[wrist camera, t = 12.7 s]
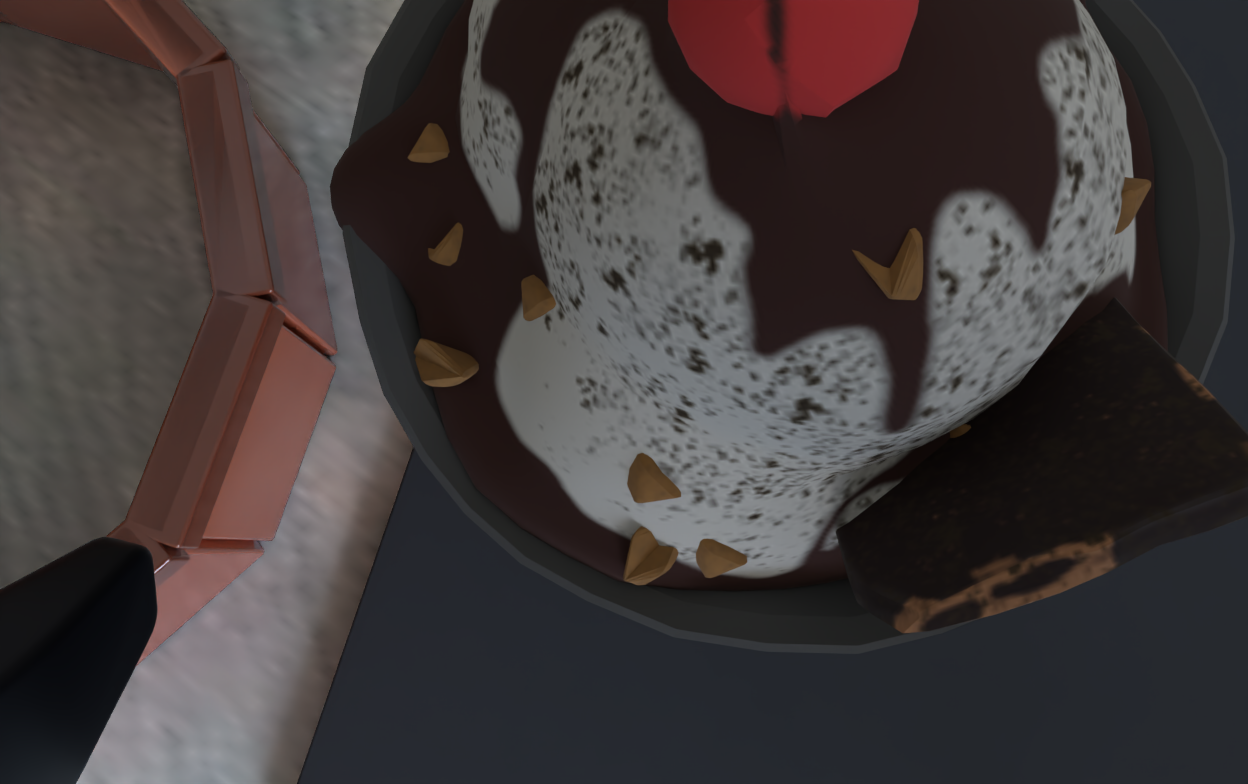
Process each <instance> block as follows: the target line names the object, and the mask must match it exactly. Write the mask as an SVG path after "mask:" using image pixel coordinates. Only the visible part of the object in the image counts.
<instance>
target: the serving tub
mask: <svg viewBox="0 0 1248 784" xmlns="http://www.w3.org/2000/svg"><path fill="white" fill-rule="evenodd" d="M0 22H6V23H9V24H12V25H15V26H18V27H22V28H25V29H28V30H31V31H35V32H38V33H41V34H44V35H47V36H51V37H54V38H57V39H60V40H64V41H67V42H70V43H73V44H76V45H80V46H83V47H86V48H89V49H93V50H96V51H99V52H102V53H105V54H109V55H112V56H115V57H118V58H122V59H125V60H128V61H131V62H134V63H138V64H141V65H144V66H147V67H151V68H154V69H157V70H160V71H163V72H164V73H165V74H166V75H167V76H168V77H169V78H170V79H171V80H172V81H173V83H174V84H175V85H176V86H177V87H178V92H179V98H180V104H181V110H182V116H183V122H184V128H185V133H186V139H187V145H188V151H189V157H190V163H191V168H192V174H193V180H194V186H195V192H196V198H197V204H198V209H199V215H200V221H201V227H202V233H203V239H204V245H205V250H206V256H207V262H208V268H209V274H210V280H211V285H212V291H213V296H212V298H211V301H210V304H209V306H208V309H207V311H206V314H205V316H204V319H203V322H202V324H201V327H200V329H199V332H198V334H197V337H196V339H195V342H194V345H193V347H192V350H191V352H190V355H189V357H188V360H187V363H186V365H185V368H184V370H183V373H182V375H181V378H180V380H179V383H178V386H177V388H176V391H175V393H174V396H173V398H172V401H171V403H170V406H169V409H168V411H167V414H166V416H165V419H164V421H163V424H162V427H161V429H160V432H159V434H158V437H157V439H156V442H155V444H154V447H153V450H152V452H151V455H150V457H149V460H148V462H147V465H146V468H145V470H144V473H143V475H142V478H141V480H140V483H139V485H138V488H137V491H136V493H135V496H134V498H133V501H132V503H131V506H130V509H129V511H128V514H127V516H126V519H125V520H124V521H123V522H122V523H121V524H120V525H119V526H117V527H116V528H115V529H114V530H113V531H112V532H110V533H109V534H108V535H107V536H106V537H110V538H115V539H119V540H123V541H127V542H131V543H135V544H139V545H142V546H145V547H147V548H148V550H149V551H150V552H151V554H152V558H153V565H154V575H155V585H156V595H157V605H158V613H157V620H156V624H155V627H154V630H153V633H152V635H151V637H150V639H149V641H148V643H147V645H146V647H145V649H144V651H143V653H142V655H141V657H140V659H139V661H138V663H137V665H138V664H139V663H140V662H141V661H142V660H143V659H145V658H146V657H147V656H148V655H149V654H150V653H151V652H152V651H154V650H155V649H156V648H157V647H158V646H159V645H160V644H162V643H163V642H164V641H165V640H166V639H167V638H168V637H170V636H171V635H172V634H173V633H174V632H175V631H176V630H177V629H179V628H180V627H181V626H182V625H183V624H184V623H185V622H187V621H188V620H189V619H190V618H191V617H192V616H193V615H195V614H196V613H197V612H198V611H199V610H200V609H201V608H202V607H204V606H205V605H206V604H207V603H208V602H209V601H210V600H212V599H213V598H214V597H215V596H216V595H217V594H218V593H219V592H221V591H222V590H223V589H224V588H225V587H226V586H227V585H229V584H230V583H231V582H232V581H233V580H234V579H235V578H237V577H238V576H239V575H240V574H241V573H242V572H243V571H244V570H246V569H247V568H248V567H249V566H250V565H251V564H252V563H254V562H255V561H256V560H257V559H258V558H259V557H260V556H261V555H263V553H264V549H263V547H262V546H261V545H260V544H259V543H258V541H272V540H273V539H274V537H275V534H276V531H277V528H278V526H279V523H280V520H281V517H282V515H283V512H284V509H285V506H286V504H287V501H288V498H289V495H290V493H291V490H292V487H293V484H294V482H295V479H296V476H297V473H298V471H299V468H300V465H301V462H302V460H303V457H304V454H305V451H306V449H307V446H308V443H309V440H310V438H311V435H312V432H313V430H314V427H315V424H316V421H317V419H318V416H319V413H320V410H321V408H322V405H323V402H324V399H325V397H326V394H327V391H328V388H329V386H330V383H331V380H332V377H333V375H334V372H335V369H336V365H335V364H334V363H333V362H331V361H330V360H329V359H327V358H326V356H331V355H334V354H336V353H337V345H336V340H335V334H334V329H333V324H332V318H331V313H330V308H329V302H328V297H327V292H326V286H325V281H324V276H323V270H322V265H321V260H320V255H319V249H318V244H317V239H316V233H315V228H314V223H313V217H312V212H311V207H310V201H309V196H308V191H307V186H306V184H305V183H304V182H303V180H302V179H301V178H300V176H299V174H300V172H299V170H298V169H297V167H296V166H295V165H294V163H293V162H292V161H291V159H290V158H289V157H288V155H287V154H286V153H285V151H284V150H283V149H282V147H281V146H280V145H279V143H278V142H277V141H276V139H275V138H274V136H273V135H272V134H271V132H270V131H269V130H268V128H267V127H266V126H265V124H264V123H263V122H262V120H261V119H260V118H259V116H258V115H257V114H256V112H255V111H254V110H253V108H252V104H251V98H250V93H249V87H248V82H247V81H246V79H245V78H244V76H243V75H242V74H241V72H240V69H239V66H238V64H237V63H236V61H235V60H234V58H233V57H232V56H231V54H230V53H229V51H228V50H227V49H226V47H225V46H224V45H223V44H222V43H221V42H220V41H219V40H218V39H217V37H216V36H215V35H214V34H213V33H212V32H211V31H210V30H209V29H208V28H207V27H206V26H205V24H204V23H203V22H202V21H201V20H200V19H199V18H198V17H197V16H196V15H195V14H194V13H193V11H192V10H191V9H190V8H189V7H188V6H187V5H186V4H185V3H184V2H183V1H182V0H0ZM137 665H136V666H137Z"/></svg>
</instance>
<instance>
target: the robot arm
mask: <svg viewBox="0 0 1248 784" xmlns="http://www.w3.org/2000/svg"><path fill="white" fill-rule="evenodd" d="M157 613H158V605H157V595H156V585H155V575H154V565H153V558H152V554H151V552H150V551H149V550H148V548H147V547H145V546H142V545H139V544H135V543H131V542H127V541H123V540H119V539H115V538H110V537H101V538H98V539H94V540H92V541H90V542H88V543H86V544H84V545H83V546H81V547H79V548H77V549H75V550H73V551H71V552H70V553H68V554H66V555H64V556H62V557H60V558H58V559H57V560H55V561H53V562H51V563H49V564H47V565H45V566H44V567H42V568H40V569H38V570H36V571H34V572H32V573H31V574H29V575H27V576H25V577H23V578H21V579H19V580H18V581H16V582H14V583H12V584H10V585H8V586H6V587H5V588H3V589H1V590H0V784H76V783H77V781H78V779H79V777H80V775H81V773H82V771H83V770H84V768H85V766H86V764H87V762H88V760H89V758H90V756H91V754H92V752H93V750H94V748H95V746H96V744H97V742H98V740H99V738H100V736H101V734H102V732H103V730H104V728H105V726H106V724H107V722H108V720H109V718H110V716H111V714H112V712H113V710H114V708H115V706H116V704H117V702H118V700H119V698H120V697H121V695H122V693H123V691H124V689H125V687H126V685H127V683H128V681H129V679H130V677H131V675H132V673H133V671H134V669H135V667H136V665H137V663H138V661H139V659H140V657H141V655H142V653H143V651H144V649H145V647H146V645H147V643H148V641H149V639H150V637H151V635H152V633H153V630H154V627H155V624H156V620H157Z"/></svg>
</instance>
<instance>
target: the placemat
mask: <svg viewBox="0 0 1248 784" xmlns="http://www.w3.org/2000/svg"><path fill="white" fill-rule="evenodd" d="M1133 1H1134V2H1135V3H1136V4H1137V5H1138V7H1139V8H1140V9H1141V10H1142V11H1143V12H1144V13H1145V14H1146V15H1147V17H1148V18H1149V19H1150V20H1151V21H1152V22H1153V23H1154V24H1155V25H1156V27H1157V28H1158V29H1159V30H1160V31H1161V32H1162V34H1163V36H1164V37H1165V39H1166V40H1167V42H1168V44H1169V45H1170V47H1171V48H1172V50H1173V52H1174V53H1175V55H1176V56H1177V58H1178V59H1179V61H1180V63H1181V64H1182V66H1183V67H1184V69H1185V71H1186V72H1187V74H1188V75H1189V77H1190V78H1191V80H1192V82H1193V83H1194V85H1195V87H1196V89H1197V91H1198V94H1199V96H1200V98H1201V100H1202V103H1203V105H1204V107H1205V110H1206V112H1207V114H1208V116H1209V119H1210V121H1211V123H1212V126H1213V128H1214V130H1215V133H1216V135H1217V137H1218V139H1219V142H1220V144H1221V146H1222V149H1223V151H1224V153H1225V155H1226V158H1227V166H1228V176H1229V186H1230V195H1231V205H1232V215H1233V225H1234V234H1235V243H1234V255H1233V266H1232V278H1231V289H1230V301H1229V313H1228V323H1227V325H1226V328H1225V330H1224V333H1223V335H1222V338H1221V340H1220V343H1219V345H1218V348H1217V350H1216V353H1215V355H1214V358H1213V360H1212V363H1211V365H1210V368H1209V370H1208V373H1207V376H1206V378H1205V381H1204V383H1203V386H1204V387H1205V388H1207V389H1208V390H1209V391H1210V392H1211V394H1212V395H1213V396H1214V397H1215V398H1216V399H1217V400H1218V401H1219V402H1220V403H1221V404H1222V405H1223V406H1224V407H1225V408H1226V409H1227V410H1228V412H1229V413H1230V414H1231V415H1232V416H1233V417H1234V418H1235V419H1236V420H1237V421H1238V422H1239V423H1240V424H1241V425H1242V426H1243V427H1244V428H1245V430H1246V431H1247V432H1248V0H1133ZM297 784H1248V517H1245V518H1243V519H1240V520H1237V521H1235V522H1232V523H1229V524H1227V525H1224V526H1221V527H1219V528H1216V529H1213V530H1211V531H1208V532H1204V533H1201V534H1198V535H1194V536H1191V537H1187V538H1184V539H1180V540H1177V541H1173V542H1170V543H1167V544H1163V545H1160V546H1158V547H1156V548H1154V549H1152V550H1150V551H1148V552H1146V553H1144V554H1142V555H1140V556H1138V557H1137V558H1135V559H1133V560H1131V561H1129V562H1127V563H1125V564H1123V565H1121V566H1119V567H1117V568H1115V569H1113V570H1112V571H1110V572H1107V573H1105V574H1103V575H1100V576H1098V577H1096V578H1093V579H1091V580H1089V581H1087V582H1084V583H1082V584H1080V585H1077V586H1075V587H1073V588H1070V589H1068V590H1066V591H1064V592H1061V593H1059V594H1056V595H1053V596H1050V597H1047V598H1044V599H1041V600H1038V601H1035V602H1032V603H1029V604H1026V605H1023V606H1020V607H1017V608H1014V609H1010V610H1007V611H1004V612H1001V613H998V614H995V615H992V616H988V617H984V618H980V619H977V620H975V621H972V622H970V623H967V624H964V625H962V626H959V627H957V628H954V629H952V630H949V631H947V632H944V633H942V634H937V635H933V636H929V637H925V638H921V639H917V640H913V641H909V642H905V643H901V644H897V645H893V646H888V647H884V648H880V649H876V650H872V651H868V652H864V653H860V654H839V653H797V652H765V651H758V650H752V649H745V648H739V647H733V646H726V645H720V644H713V643H707V642H701V641H694V640H688V639H681V638H675V637H672V636H669V635H667V634H664V633H662V632H660V631H657V630H655V629H653V628H650V627H648V626H645V625H643V624H641V623H638V622H636V621H633V620H631V619H629V618H626V617H624V616H622V615H619V614H617V613H614V612H612V611H610V610H607V609H605V608H602V607H600V606H598V605H595V604H593V603H591V602H588V601H586V600H584V599H583V598H581V597H579V596H577V595H575V594H574V593H572V592H570V591H568V590H567V589H565V588H563V587H561V586H559V585H558V584H556V583H554V582H552V581H551V580H549V579H547V578H545V577H543V576H542V575H540V574H538V573H536V572H535V571H533V570H531V569H529V568H527V567H526V566H524V565H522V564H520V563H519V562H518V561H517V560H516V559H515V558H514V557H513V556H511V555H510V554H509V553H508V552H507V551H506V550H505V549H504V548H502V547H501V546H500V545H499V544H498V543H497V542H496V541H495V540H493V539H492V538H491V537H490V536H489V535H488V534H487V533H486V532H485V531H483V530H482V529H481V528H480V527H479V526H478V525H477V524H476V523H474V522H473V521H472V520H471V519H470V518H469V517H468V516H467V515H465V514H464V512H463V511H462V510H461V509H460V507H459V506H458V505H457V504H456V502H455V501H454V500H453V499H452V497H451V496H450V495H449V494H448V492H447V491H446V490H445V489H444V487H443V486H442V485H441V484H440V483H439V481H438V480H437V479H436V478H435V476H434V475H433V474H432V473H431V471H430V470H429V469H428V468H427V466H426V465H425V464H424V463H423V461H422V460H421V458H420V457H419V455H418V453H417V452H416V450H415V448H414V447H413V450H412V453H411V456H410V459H409V462H408V465H407V468H406V470H405V473H404V476H403V479H402V482H401V485H400V488H399V491H398V494H397V496H396V499H395V502H394V505H393V508H392V511H391V514H390V517H389V520H388V522H387V525H386V528H385V531H384V534H383V537H382V540H381V543H380V546H379V548H378V551H377V554H376V557H375V560H374V563H373V566H372V569H371V572H370V574H369V577H368V580H367V583H366V586H365V589H364V592H363V595H362V598H361V600H360V603H359V606H358V609H357V612H356V615H355V618H354V621H353V624H352V626H351V629H350V632H349V635H348V638H347V641H346V644H345V647H344V649H343V652H342V655H341V658H340V661H339V664H338V667H337V670H336V673H335V675H334V678H333V681H332V684H331V687H330V690H329V693H328V696H327V699H326V701H325V704H324V707H323V710H322V713H321V716H320V719H319V722H318V725H317V727H316V730H315V733H314V736H313V739H312V742H311V745H310V748H309V751H308V753H307V756H306V759H305V762H304V765H303V768H302V771H301V774H300V777H299V779H298V782H297Z"/></svg>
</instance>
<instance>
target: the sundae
mask: <svg viewBox="0 0 1248 784" xmlns="http://www.w3.org/2000/svg"><path fill="white" fill-rule="evenodd" d="M330 192H331V203H332V209H333V211H334V214H335V216H336V219H337V221H338V224H339V226H340V227H341V228H342V230H343V237H344V242H345V247H346V253H347V258H348V263H349V268H350V273H351V278H352V283H353V288H354V293H355V298H356V303H357V309H358V314H359V319H360V323H361V326H362V329H363V332H364V335H365V338H366V341H367V345H368V348H369V351H370V354H371V357H372V360H373V363H374V366H375V369H376V372H377V375H378V378H379V382H380V385H381V388H382V391H383V394H384V396H385V397H386V399H387V401H388V403H389V404H390V406H391V408H392V410H393V411H394V413H395V415H396V417H397V418H398V420H399V422H400V424H401V425H402V427H403V429H404V431H405V432H406V434H407V436H408V438H409V439H410V441H411V443H412V445H413V446H414V448H415V450H416V452H417V453H418V455H419V457H420V458H421V460H422V461H423V463H424V464H425V465H426V466H427V468H428V469H429V470H430V471H431V473H432V474H433V475H434V476H435V478H436V479H437V480H438V481H439V483H440V484H441V485H442V486H443V487H444V489H445V490H446V491H447V492H448V494H449V495H450V496H451V497H452V499H453V500H454V501H455V502H456V504H457V505H458V506H459V507H460V509H461V510H462V511H463V512H464V514H465V515H467V516H468V517H469V518H470V519H471V520H472V521H473V522H474V523H476V524H477V525H478V526H479V527H480V528H481V529H482V530H483V531H485V532H486V533H487V534H488V535H489V536H490V537H491V538H492V539H493V540H495V541H496V542H497V543H498V544H499V545H500V546H501V547H502V548H504V549H505V550H506V551H507V552H508V553H509V554H510V555H511V556H513V557H514V558H515V559H516V560H517V561H518V562H519V563H520V564H522V565H524V566H526V567H527V568H529V569H531V570H533V571H535V572H536V573H538V574H540V575H542V576H543V577H545V578H547V579H549V580H551V581H552V582H554V583H556V584H558V585H559V586H561V587H563V588H565V589H567V590H568V591H570V592H572V593H574V594H575V595H577V596H579V597H581V598H583V599H584V600H586V601H588V602H591V603H593V604H595V605H598V606H600V607H602V608H605V609H607V610H610V611H612V612H614V613H617V614H619V615H622V616H624V617H626V618H629V619H631V620H633V621H636V622H638V623H641V624H643V625H645V626H648V627H650V628H653V629H655V630H657V631H660V632H662V633H664V634H667V635H669V636H672V637H675V638H681V639H688V640H694V641H701V642H707V643H713V644H720V645H726V646H733V647H739V648H745V649H752V650H758V651H765V652H797V653H839V654H860V653H864V652H868V651H872V650H876V649H880V648H884V647H888V646H893V645H897V644H901V643H905V642H909V641H913V640H917V639H921V638H925V637H929V636H933V635H937V634H942V633H944V632H947V631H949V630H952V629H954V628H957V627H959V626H962V625H964V624H967V623H970V622H972V621H975V620H977V619H980V618H984V617H988V616H992V615H995V614H998V613H1001V612H1004V611H1007V610H1010V609H1014V608H1017V607H1020V606H1023V605H1026V604H1029V603H1032V602H1035V601H1038V600H1041V599H1044V598H1047V597H1050V596H1053V595H1056V594H1059V593H1061V592H1064V591H1066V590H1068V589H1070V588H1073V587H1075V586H1077V585H1080V584H1082V583H1084V582H1087V581H1089V580H1091V579H1093V578H1096V577H1098V576H1100V575H1103V574H1105V573H1107V572H1110V571H1112V570H1113V569H1115V568H1117V567H1119V566H1121V565H1123V564H1125V563H1127V562H1129V561H1131V560H1133V559H1135V558H1137V557H1138V556H1140V555H1142V554H1144V553H1146V552H1148V551H1150V550H1152V549H1154V548H1156V547H1158V546H1160V545H1163V544H1167V543H1170V542H1173V541H1177V540H1180V539H1184V538H1187V537H1191V536H1194V535H1198V534H1201V533H1204V532H1208V531H1211V530H1213V529H1216V528H1219V527H1221V526H1224V525H1227V524H1229V523H1232V522H1235V521H1237V520H1240V519H1243V518H1245V517H1248V432H1247V431H1246V430H1245V428H1244V427H1243V426H1242V425H1241V424H1240V423H1239V422H1238V421H1237V420H1236V419H1235V418H1234V417H1233V416H1232V415H1231V414H1230V413H1229V412H1228V410H1227V409H1226V408H1225V407H1224V406H1223V405H1222V404H1221V403H1220V402H1219V401H1218V400H1217V399H1216V398H1215V397H1214V396H1213V395H1212V394H1211V392H1210V391H1209V390H1208V389H1207V388H1205V387H1204V386H1203V383H1204V381H1205V378H1206V376H1207V373H1208V370H1209V368H1210V365H1211V363H1212V360H1213V358H1214V355H1215V353H1216V350H1217V348H1218V345H1219V343H1220V340H1221V338H1222V335H1223V333H1224V330H1225V328H1226V325H1227V323H1228V313H1229V301H1230V289H1231V278H1232V266H1233V255H1234V243H1235V234H1234V225H1233V215H1232V205H1231V195H1230V186H1229V176H1228V166H1227V158H1226V155H1225V153H1224V151H1223V149H1222V146H1221V144H1220V142H1219V139H1218V137H1217V135H1216V133H1215V130H1214V128H1213V126H1212V123H1211V121H1210V119H1209V116H1208V114H1207V112H1206V110H1205V107H1204V105H1203V103H1202V100H1201V98H1200V96H1199V94H1198V91H1197V89H1196V87H1195V85H1194V83H1193V82H1192V80H1191V78H1190V77H1189V75H1188V74H1187V72H1186V71H1185V69H1184V67H1183V66H1182V64H1181V63H1180V61H1179V59H1178V58H1177V56H1176V55H1175V53H1174V52H1173V50H1172V48H1171V47H1170V45H1169V44H1168V42H1167V40H1166V39H1165V37H1164V36H1163V34H1162V32H1161V31H1160V30H1159V29H1158V28H1157V27H1156V25H1155V24H1154V23H1153V22H1152V21H1151V20H1150V19H1149V18H1148V17H1147V15H1146V14H1145V13H1144V12H1143V11H1142V10H1141V9H1140V8H1139V7H1138V5H1137V4H1136V3H1135V2H1134V1H1133V0H405V1H404V2H403V4H402V6H401V8H400V9H399V11H398V13H397V15H396V16H395V18H394V20H393V22H392V24H391V25H390V27H389V29H388V31H387V32H386V34H385V36H384V38H383V39H382V41H381V43H380V45H379V46H378V48H377V50H376V52H375V54H374V55H373V57H372V59H371V61H370V62H369V64H368V66H367V68H366V71H365V76H364V80H363V85H362V89H361V94H360V98H359V103H358V107H357V111H356V116H355V120H354V125H353V129H352V134H351V138H350V143H349V147H348V148H347V149H346V150H345V152H344V154H343V155H342V157H341V159H340V160H339V162H338V163H337V165H336V167H335V168H334V172H333V176H332V180H331V184H330Z"/></svg>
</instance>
